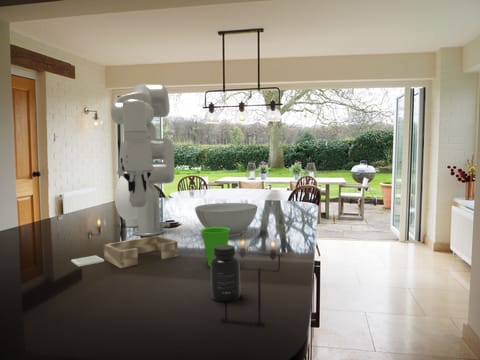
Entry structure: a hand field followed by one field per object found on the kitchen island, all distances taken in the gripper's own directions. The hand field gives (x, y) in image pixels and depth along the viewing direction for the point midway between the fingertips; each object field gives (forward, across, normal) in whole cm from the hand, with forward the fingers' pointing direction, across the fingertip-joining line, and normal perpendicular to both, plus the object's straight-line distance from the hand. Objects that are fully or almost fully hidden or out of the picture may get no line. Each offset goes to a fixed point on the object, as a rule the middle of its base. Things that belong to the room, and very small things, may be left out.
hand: (137, 192), depth 126 cm
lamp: (+23, -24, -60) cm, 69 cm away
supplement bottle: (+21, +1, +50) cm, 54 cm away
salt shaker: (+5, 0, 0) cm, 5 cm away
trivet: (+22, +15, -6) cm, 28 cm away
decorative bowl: (+23, -44, -8) cm, 50 cm away
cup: (+22, -13, +27) cm, 37 cm away
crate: (+22, 0, +2) cm, 22 cm away
